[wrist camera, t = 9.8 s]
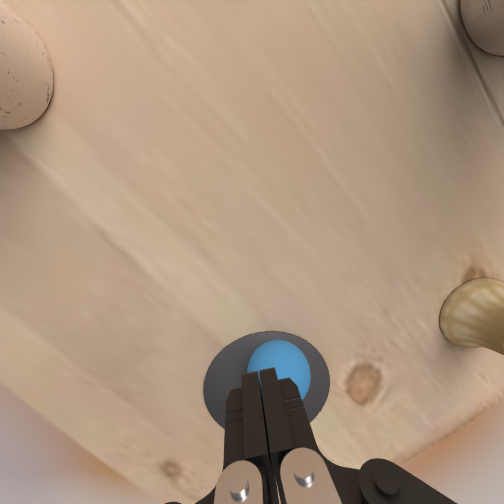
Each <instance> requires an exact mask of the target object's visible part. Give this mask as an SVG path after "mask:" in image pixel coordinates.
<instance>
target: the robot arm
mask: <svg viewBox="0 0 504 504" xmlns="http://www.w3.org/2000/svg"><path fill="white" fill-rule="evenodd" d="M460 4H461V15H462V19H463V23H464V26H465V28H466V30H467V32H468V35H469V37H470V38H471V39H472V40H473V42H474V43H475V44H476V45H477V46H478V47H480V48H481V49H482V50H484V51H485V52H488V53H491V54H494V55H502V56H504V0H460ZM259 375H260V379H259ZM241 380H242V387H241V388H236V389H232V390H231V391H230V393H229V395H228V397H227V400H226V415H225V439H224V465H223V471H222V473H221V475H220V477H219V479H218V482H217V485H216V486H215V488H214V489H213V490H212V491H211V492H210V493H209V494H208V495H207V496H206V497H204V498H203V499H201V500H200V501H198V502H197V503H195V504H279V498H278V491H279V496H280V501H281V504H457V503H455V502H454V501H452V500H451V499H449V498H448V497H446V496H444V495H443V494H441V493H440V492H438V491H437V490H435V489H433V488H432V487H430V486H429V485H427V484H426V483H424V482H423V481H421V480H420V479H418V478H416V477H415V476H413V475H412V474H410V473H409V472H407V471H406V470H404V469H403V468H401V467H399V466H398V465H396V464H395V463H393V462H391V461H388V460H385V459H379V458H376V459H371V460H368V461H366V462H365V463H364V464H363V465H362V467H361V469H360V470H359V469H352V468H346V467H341V466H338V465H335V464H334V463H332V462H330V461H329V460H327V459H326V458H325V457H324V456H323V455H322V453H321V452H320V450H319V449H318V447H317V444H316V441H315V438H314V435H313V432H312V429H311V426H310V423H309V420H308V417H307V414H306V411H305V408H304V405H303V402H302V399H301V396H300V393H299V389H298V386H297V385H296V384H295V383H294V382H293V381H292V380H291V379H290V377H289V378H284V379H279V380H278V378H277V374H276V370H275V367H272V368H268V369H263V370H259V374H258V371H253V372H249V373H244V374H241ZM260 382H261V384H260ZM276 482H277V484H276ZM277 486H278V491H277ZM165 504H181V503H178V502H168V503H165Z"/></svg>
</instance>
